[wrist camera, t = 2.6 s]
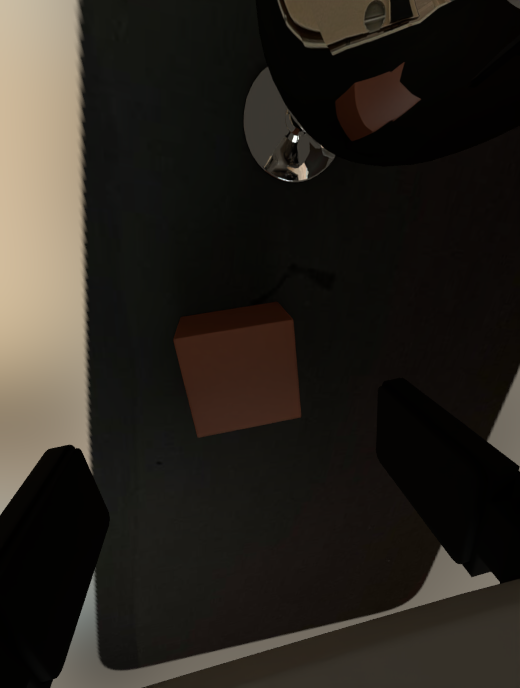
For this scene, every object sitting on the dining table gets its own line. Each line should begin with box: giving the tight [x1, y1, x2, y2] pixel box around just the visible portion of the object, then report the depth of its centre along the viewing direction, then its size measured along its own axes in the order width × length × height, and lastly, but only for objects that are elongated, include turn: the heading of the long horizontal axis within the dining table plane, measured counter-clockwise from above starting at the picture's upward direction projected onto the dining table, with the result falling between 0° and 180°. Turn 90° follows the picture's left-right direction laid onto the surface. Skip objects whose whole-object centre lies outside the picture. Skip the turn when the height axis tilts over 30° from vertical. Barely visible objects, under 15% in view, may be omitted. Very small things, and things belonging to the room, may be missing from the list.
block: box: [173, 302, 301, 437], centre depth 15 cm, size 5×5×3 cm
